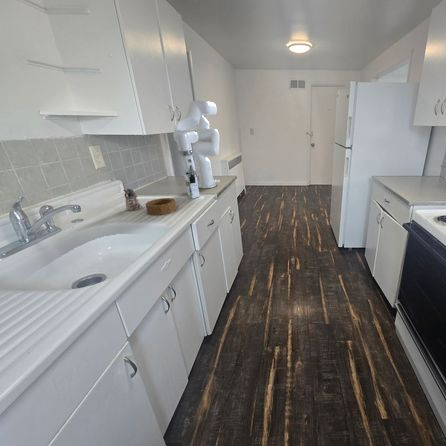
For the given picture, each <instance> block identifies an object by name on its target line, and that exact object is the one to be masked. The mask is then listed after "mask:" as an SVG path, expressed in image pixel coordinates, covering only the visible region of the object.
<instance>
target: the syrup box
mask: <svg viewBox="0 0 446 446" xmlns="http://www.w3.org/2000/svg"><path fill="white" fill-rule="evenodd" d="M190 175H191V173H190ZM194 175H195V181H196V183H192V184H191V183H190V179H189V177H190V176H189V174H187V175H186V174H184V181H185V188H186V192H187V196H188V198H190V199H195V198H199V197H200V188H199V186H198V185H199V184H198V178H197V174H194Z"/></svg>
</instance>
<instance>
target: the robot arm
mask: <svg viewBox="0 0 446 446" xmlns="http://www.w3.org/2000/svg"><path fill="white" fill-rule="evenodd" d="M217 112H218V108H217V105H216V103H215V102H213V101H209V100H192V101H190V102H189V103H188V106H187V110H186V114H185V117H184V118H182V119H181V120H179V122H177V123H176V125H175V127H174V129H173V136H172V137H173V140H174V142H176V144H177V149H178V154H179V157H181V164H182V168H183V171H184V172H185V175H187V174H189V176H190V177H189V179H190V183H191V184H192V183H196V181H195V175H196V174H195V172H198V173H197V174H198V179H199V184H198V189H211V188H215V187H216V186H217V183H221V181H220V179H214V176H213V169H212V162H211V160H210V159H209V157H218V155H219V153H220V140H221V139H220V137H221V136H220V132H219V130H218V129H217V128H210V127H211V126H210V122H209V121H208V119H207V118H206V117H205V116H216V115H217V114H218V113H217ZM195 127H196V131H195V130H190V129H192V128H195ZM192 144H193V146H192ZM193 156H194V157H195V161H196V164H195V161H194V157H193ZM196 167H197V169H196ZM190 174H191V175H190Z"/></svg>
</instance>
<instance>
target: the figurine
mask: <svg viewBox="0 0 446 446" xmlns="http://www.w3.org/2000/svg"><path fill="white" fill-rule="evenodd" d="M123 192H124V198H125V207H126V210H127V211H129V212H134V211H139V210H141V208H142V205H141V204H140V202H139V199H138V195H137V194H136V192H135V190H133V189H132V188H127V189H123Z"/></svg>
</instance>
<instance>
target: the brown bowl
mask: <svg viewBox="0 0 446 446" xmlns="http://www.w3.org/2000/svg"><path fill="white" fill-rule="evenodd" d="M144 205H145V208H146V211H147V214H148V215H150V216H164V215H168V214H171V213H173V212H176V211H177V210H178V206H177V202H176V199H175V198H171V197H161V198H156V199H152V200H148V201H147V202H146V203H145V204H144Z"/></svg>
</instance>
